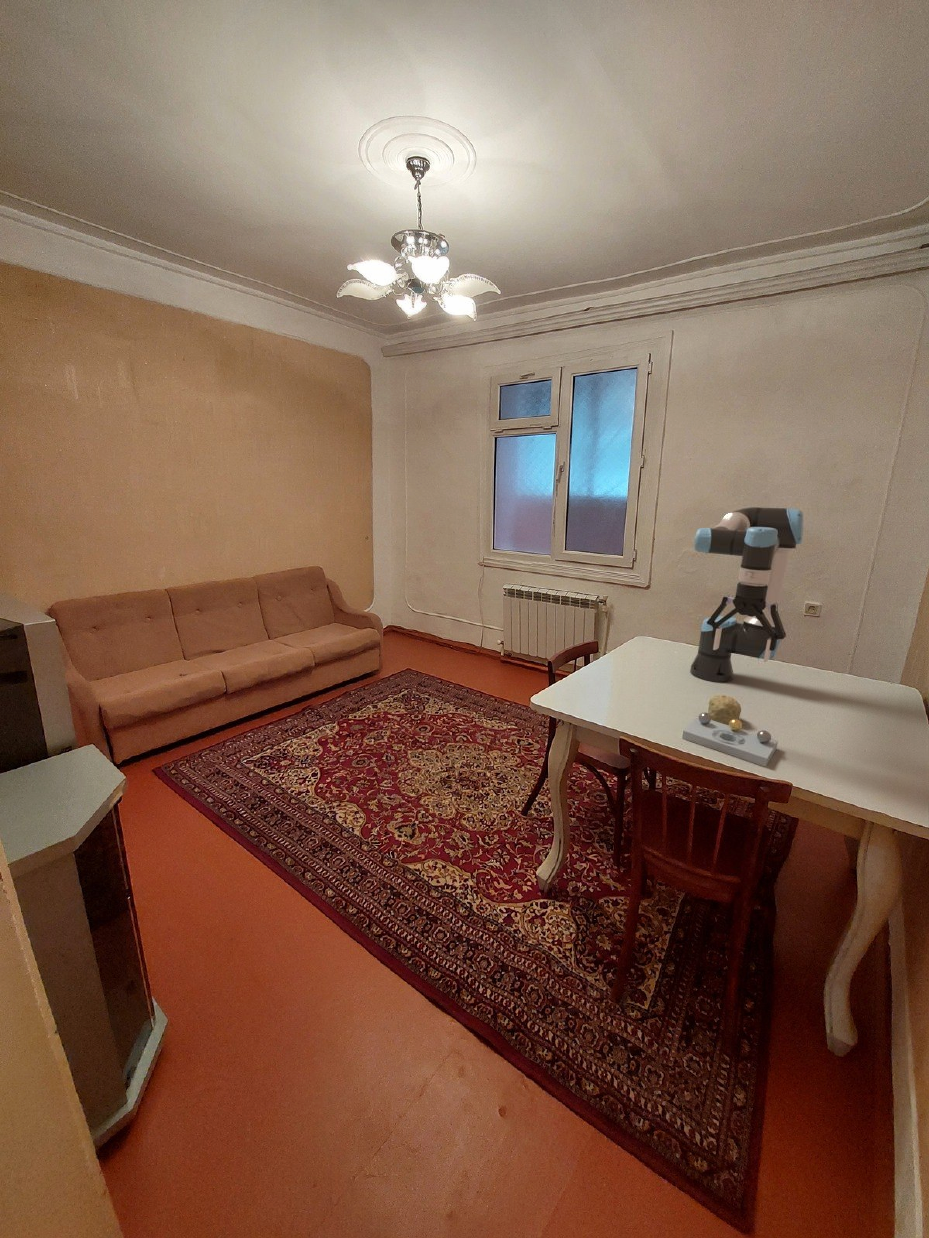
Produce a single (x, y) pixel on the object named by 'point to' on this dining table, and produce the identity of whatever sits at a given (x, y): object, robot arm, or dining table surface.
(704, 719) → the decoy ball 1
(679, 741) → the dining table surface
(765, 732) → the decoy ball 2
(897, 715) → the dining table surface
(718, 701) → the decorative object
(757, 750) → the grey flat block
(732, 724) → the brass ball
